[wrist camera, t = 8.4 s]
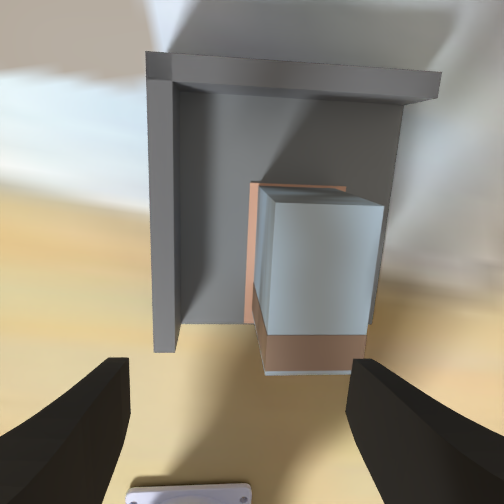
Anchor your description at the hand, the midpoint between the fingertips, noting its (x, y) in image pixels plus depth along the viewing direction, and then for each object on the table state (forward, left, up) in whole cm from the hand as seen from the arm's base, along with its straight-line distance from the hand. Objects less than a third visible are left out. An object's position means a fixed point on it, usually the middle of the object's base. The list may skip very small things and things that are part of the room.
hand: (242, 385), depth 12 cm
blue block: (+2, -3, -9) cm, 10 cm away
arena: (+4, -2, -9) cm, 10 cm away
